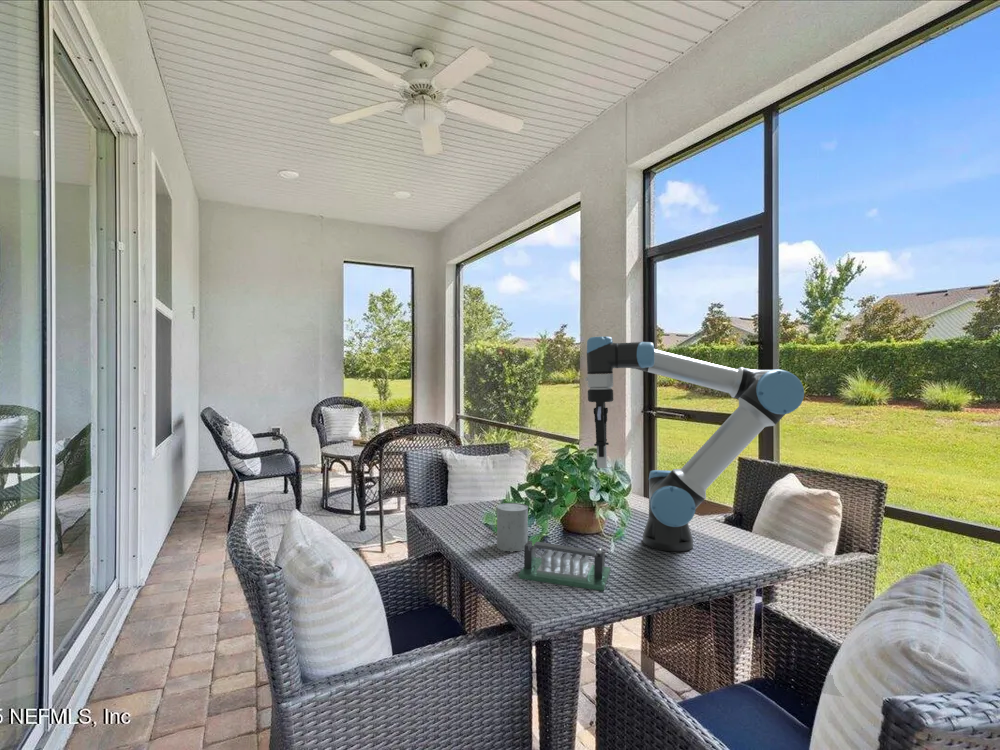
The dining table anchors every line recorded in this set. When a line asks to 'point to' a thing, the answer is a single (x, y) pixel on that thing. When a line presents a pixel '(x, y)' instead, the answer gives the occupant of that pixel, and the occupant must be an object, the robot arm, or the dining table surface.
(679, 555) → the dining table surface
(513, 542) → the grey cylinder
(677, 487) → the robot arm
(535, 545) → the grey hinged clamp bar
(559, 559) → the heatsink board
